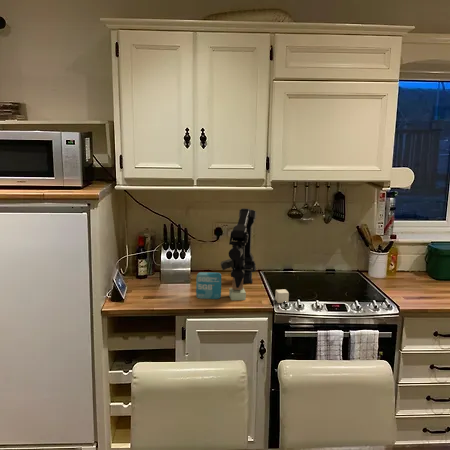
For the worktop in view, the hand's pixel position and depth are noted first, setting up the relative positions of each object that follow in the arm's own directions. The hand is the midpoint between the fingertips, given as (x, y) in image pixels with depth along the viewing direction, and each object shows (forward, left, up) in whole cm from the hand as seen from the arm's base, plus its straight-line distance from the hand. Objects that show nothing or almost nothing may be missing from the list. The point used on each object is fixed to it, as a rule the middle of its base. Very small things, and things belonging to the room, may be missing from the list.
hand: (237, 285), depth 227 cm
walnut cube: (0, 0, -1) cm, 1 cm away
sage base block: (0, 0, -6) cm, 6 cm away
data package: (+1, -14, -6) cm, 15 cm away
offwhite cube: (+2, +21, -6) cm, 22 cm away
